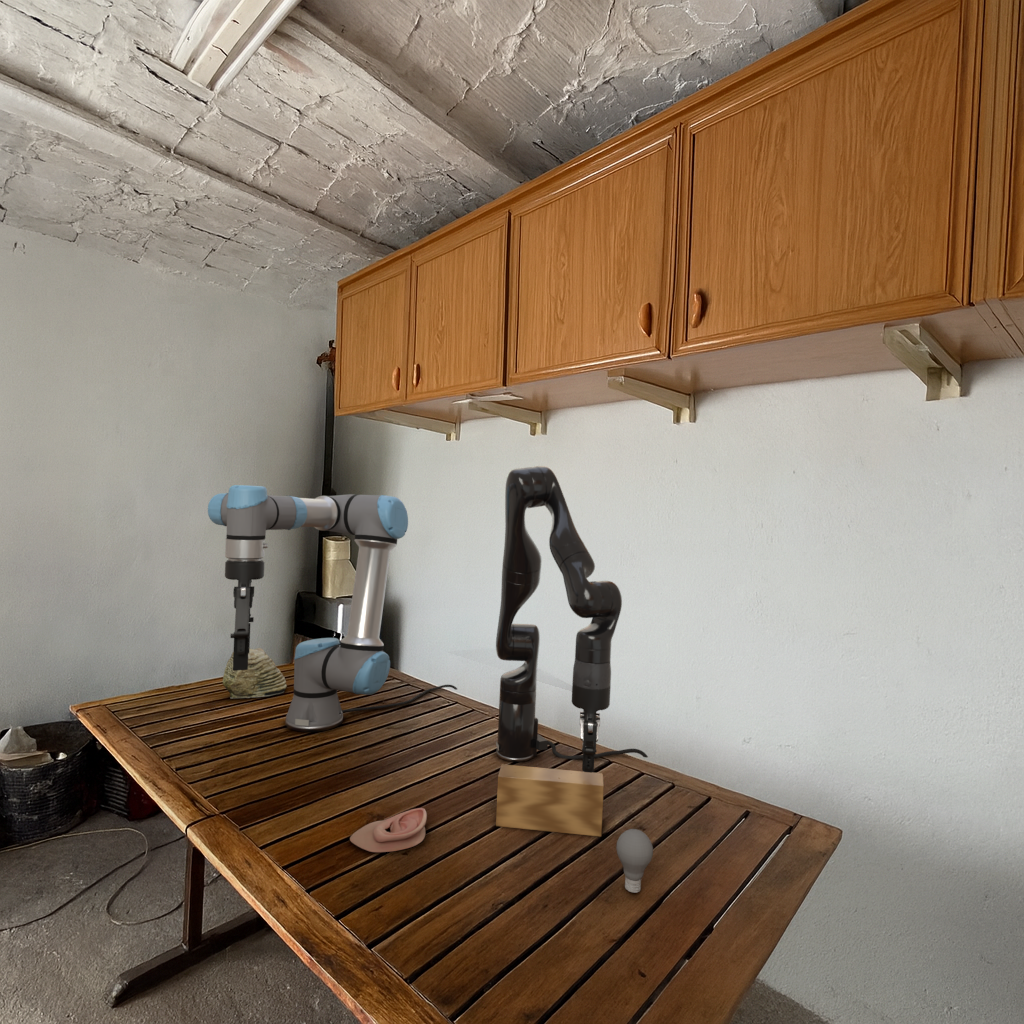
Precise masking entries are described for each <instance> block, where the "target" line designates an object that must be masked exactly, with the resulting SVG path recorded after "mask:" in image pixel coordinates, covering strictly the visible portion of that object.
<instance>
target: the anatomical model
mask: <svg viewBox="0 0 1024 1024" xmlns="http://www.w3.org/2000/svg"><path fill="white" fill-rule="evenodd" d="M427 814H428V813H427V811H426V809H425V808H424V807H417V808H412V809H409V810H406V811H403V812H401V813H397V814H396V815H393V816H390V817H388V818H386V819H384V820H377V821H373V822H370V823H368V824H365V825H364V826H362V827H360V828H359V829H358V830H355V832H353V834H351V835H350V837H349V841H350V842H351V843H352V844H353V845H355V846H356V847H358V848H360V849H362V850H365V851H366V852H370V853H386V852H387V853H388V852H389V853H390V852H396V851H403V850H406V849H409V848H412V847H415V846H417V845H419V844H421V843H422V842H423V841H424V840H425V837H426V827H425V826H426V824H427V820H428V819H427V817H428V815H427Z"/></svg>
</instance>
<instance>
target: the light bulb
mask: <svg viewBox="0 0 1024 1024" xmlns="http://www.w3.org/2000/svg"><path fill="white" fill-rule="evenodd" d="M615 849H616V854H617V857H618V859H619V861H620V863H621V865H622V867H623V873H624V874H623V875H624V876H625V878H624V888H625V890H627V891H628V892H630V893H634V894H635V893H639V892H640V891H641V889H642V887H641V886H642V879H643V877H644V875H645V871H646V868H647V867H648V866H649V864H650V863H651V861H652V859H653V855H654V847H653V843H652V841H651V838H649V836H648V835H647V834H646V833H645V832H643V831H642V830H641V829H636V828H629V829H627V830H625V831H623V832H622V833H621V834H620V835H619V837H618V839H617V841H616V847H615Z"/></svg>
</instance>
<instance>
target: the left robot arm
mask: <svg viewBox="0 0 1024 1024" xmlns="http://www.w3.org/2000/svg"><path fill="white" fill-rule="evenodd" d="M207 515H208V518H209V519H210V521H211V522H212V523H214V524H215V525H218V526H223V527H226V536H225V537H226V538H225V549H224V550H225V551H224V553H225V554H224V556H225V558H226V559H227V560H226V561H225V563H224V564H225V565H224V577H225V579H227V580H232V581H236V580H237V586H234V587H233V598H234V599H233V608H234V609H235V617H234V632H233V633H230V637H229V638H230V639H233V651H232V653H233V671H235V670H248V653H249V649H251V647H250V644H251V623H254V621H255V620H254V619H255V618H254V617H253V616H252V614H251V609H252V608H253V601H254V597H255V586H252V583H253V581H256V580H261V579H263V578H265V577H264V576H265V562H264V560H262V559H264V558H265V551H266V550H265V549H268V548H269V545H268V543H265V542H266V536H267V535H266V533H267V531H269V530H271V531H277V530H282V531H283V530H284V531H285V530H286V531H291V530H295V529H299V528H310V527H311V528H314V529H316V530H318V531H322V532H323V531H325V532H326V531H327V532H333V533H339V534H344V535H351V536H354V543H355V544H356V545H357V547H358V553H357V560H356V569H355V575H354V583H353V590H352V596H351V597H352V598H351V604H350V612H349V619H348V627H347V634H346V635H345V636H344V637H343V638H342V639H341V640H339V638H337V637H321V638H313V639H307V640H304V641H302V642H299V643H298V644H297V645H296V647H295V652H294V653H295V654H294V657H293V660H294V661H293V662H294V668H293V669H294V670H293V695H292V696H293V697H292V699H291V702H290V704H289V708H288V711H287V713H286V715H285V726H286V728H287V729H289V730H291V731H294V732H295V731H296V732H301V733H316V732H325V731H329V730H332V729H335V728H337V727H339V726H340V725H342V723H343V722H344V713H351V712H353V713H354V712H361V711H371V710H379V709H386V708H392V707H398V706H402V705H406V704H407V705H408V704H410V703H412V702H413V701H415V700H418V699H419V698H420V697H423V696H424V695H425V694H427V693H429V692H433V691H437V690H440V689H445V688H452V689H454V690H458V687H456V686H455V685H453V684H442V685H438V686H436V687H432V688H428V689H426V690H424V691H422V692H421V693H418V694H417V695H415V696H414V697H412V698H411V699H408V700H405V701H402V702H401V701H400V702H396V703H390V704H385V705H376V706H374V705H373V706H367V707H356V708H355V707H354V708H348V709H346V708H345V709H342V706H341V702H340V699H339V695H338V691H340V692H347V693H352V694H355V695H358V696H359V695H366V696H370V695H374V694H376V693H377V692H379V691H380V690H381V689H382V687H383V685H384V684H385V683H386V681H387V679H388V676H389V674H390V670H391V660H390V656H389V654H388V653H386V652H385V651H384V649H385V647H384V646H385V645H384V642H383V640H382V639H380V634H381V628H382V627H381V626H382V618H383V610H384V605H385V604H384V603H385V595H386V589H387V581H388V573H389V566H390V565H389V564H390V559H391V558H390V556H391V551H392V550H394V549H395V548H396V547H397V545H398V540H400V539H402V538H403V537H404V536H405V535H406V533H407V531H408V528H409V514H408V511H407V508H406V506H405V504H404V502H403V501H402V500H401V499H400V498H398V497H397V496H392V495H385V494H357V493H351V494H350V493H349V494H338V495H320V496H319V495H318V496H317V497H315V498H308V497H297V496H292V495H271V494H268V489H267V487H265V485H264V486H263V485H245V484H244V485H242V484H241V485H240V484H235V485H231V486H230V487H229V488H228V492H224V493H221V492H220V493H217V494H215V495H213V496H212V497H211V499H210V500H209V502H208V504H207ZM252 580H253V581H252Z"/></svg>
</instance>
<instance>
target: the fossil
mask: <svg viewBox="0 0 1024 1024" xmlns="http://www.w3.org/2000/svg"><path fill="white" fill-rule="evenodd" d="M222 676H223V677H222V685H223V687H224V688H225V690H226V691H228V693H229V698H230V699H250V698H264V697H271V696H275V695H281V694H284V693H285V691H286V689H287V687H288V686H287V680H286V678H285V676H284V674H283V673H282V672H281V669H279V668H278V667H277V665H276V663H275V662H274V660H273V659H272V658H271V657H270V656H269V655H268V654H267V653H266V652H265V650H264V649H263V648H260V647H258V648H250V649H249V653H248V670H235V671H233V652H232V653H231V656H230V657H229V659H228V660H227V663H226V666H225V668H224V671H223V675H222Z"/></svg>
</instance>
